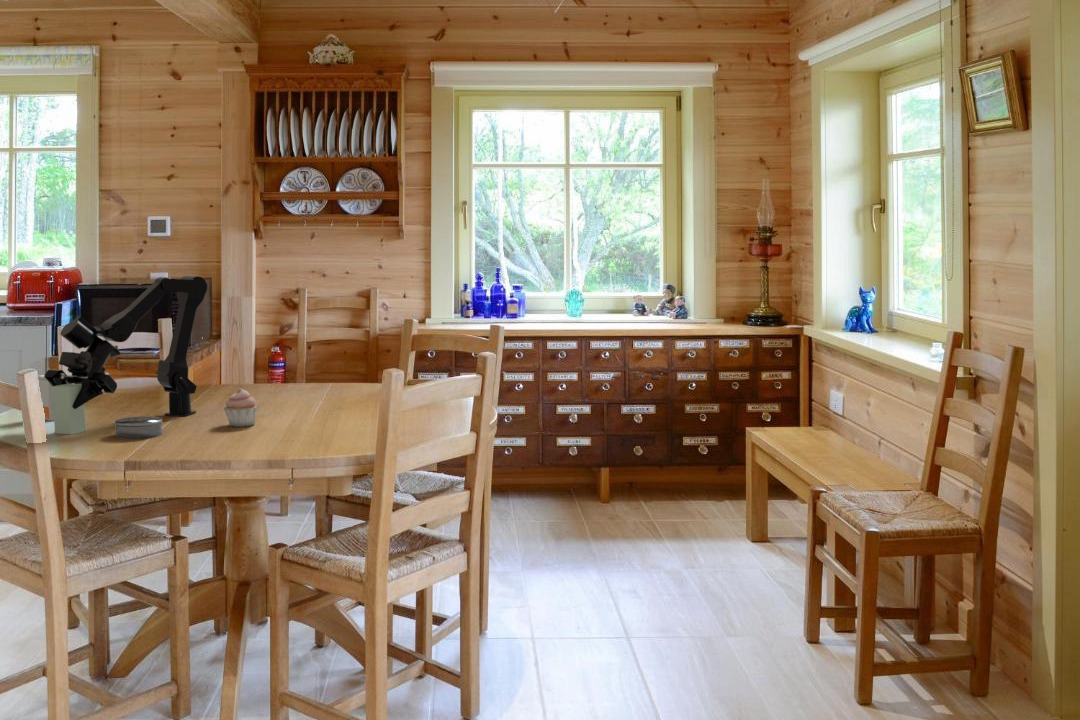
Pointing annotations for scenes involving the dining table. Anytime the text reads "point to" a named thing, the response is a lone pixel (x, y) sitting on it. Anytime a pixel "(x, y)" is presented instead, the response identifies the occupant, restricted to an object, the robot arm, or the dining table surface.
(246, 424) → the cupcake
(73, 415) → the sage block
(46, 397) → the skincare box
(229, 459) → the dining table surface
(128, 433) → the charcoal tin
